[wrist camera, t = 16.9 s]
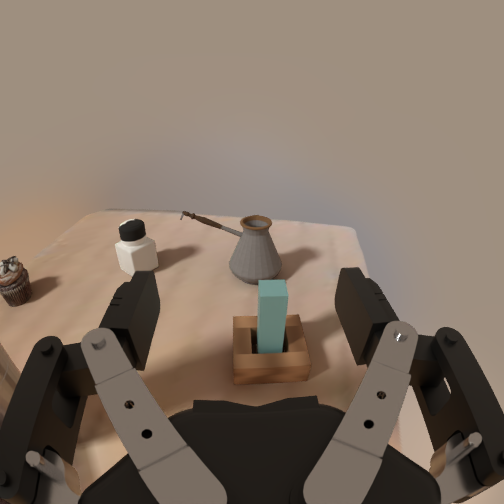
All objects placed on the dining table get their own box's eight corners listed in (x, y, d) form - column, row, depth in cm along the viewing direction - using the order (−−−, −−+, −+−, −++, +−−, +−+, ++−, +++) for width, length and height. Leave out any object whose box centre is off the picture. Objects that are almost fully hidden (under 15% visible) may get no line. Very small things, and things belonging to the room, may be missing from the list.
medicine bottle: (159, 266, 69) (152, 220, 63) (136, 280, 64) (126, 232, 58) (142, 257, 72) (134, 213, 66) (120, 269, 67) (110, 224, 61)
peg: (257, 365, 44) (260, 296, 37) (256, 348, 47) (258, 280, 40) (280, 364, 44) (288, 295, 37) (278, 347, 48) (284, 279, 41)
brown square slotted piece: (234, 384, 41) (233, 368, 39) (234, 333, 50) (233, 316, 48) (307, 380, 41) (311, 364, 39) (296, 331, 51) (298, 314, 49)
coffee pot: (279, 261, 71) (283, 202, 64) (282, 290, 61) (287, 224, 54) (191, 259, 72) (186, 201, 64) (181, 287, 62) (172, 222, 54)
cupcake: (3, 294, 55) (-11, 261, 50) (32, 281, 61) (20, 247, 56) (6, 314, 49) (-11, 278, 44) (37, 298, 55) (22, 262, 50)
